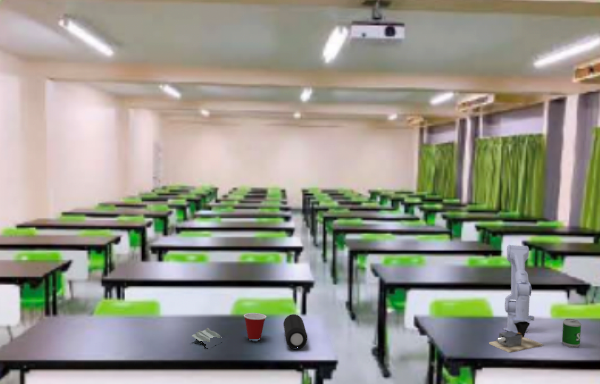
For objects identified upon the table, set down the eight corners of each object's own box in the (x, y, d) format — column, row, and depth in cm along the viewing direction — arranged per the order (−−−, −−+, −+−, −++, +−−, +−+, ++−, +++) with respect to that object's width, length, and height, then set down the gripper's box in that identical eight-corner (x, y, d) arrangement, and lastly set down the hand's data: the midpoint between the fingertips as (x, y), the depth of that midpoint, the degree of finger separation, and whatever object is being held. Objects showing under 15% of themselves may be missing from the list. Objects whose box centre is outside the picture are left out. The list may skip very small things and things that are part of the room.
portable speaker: (283, 332, 257) (283, 312, 256) (302, 332, 258) (303, 312, 257) (285, 351, 231) (286, 329, 231) (307, 351, 232) (308, 329, 232)
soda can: (573, 349, 240) (574, 323, 239) (558, 343, 246) (559, 319, 246) (583, 346, 243) (584, 321, 242) (568, 341, 250) (569, 317, 249)
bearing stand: (521, 337, 254) (522, 326, 254) (542, 345, 244) (543, 333, 243) (488, 343, 245) (489, 331, 244) (509, 352, 234) (509, 340, 234)
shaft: (516, 338, 247) (516, 331, 246) (522, 341, 243) (522, 333, 243) (495, 342, 241) (495, 335, 240) (501, 345, 237) (501, 337, 237)
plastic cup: (270, 339, 246) (271, 315, 245) (253, 345, 238) (254, 319, 237) (255, 334, 253) (255, 310, 252) (238, 339, 245) (238, 314, 244)
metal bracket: (187, 332, 238) (209, 323, 251) (185, 343, 239) (206, 334, 252) (210, 346, 231) (231, 337, 244) (208, 358, 232) (228, 348, 245)
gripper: (518, 312, 238) (517, 341, 239) (540, 309, 244) (538, 337, 245) (506, 308, 244) (505, 336, 245) (527, 305, 251) (526, 332, 251)
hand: (521, 336), depth 245 cm, fingers closed
